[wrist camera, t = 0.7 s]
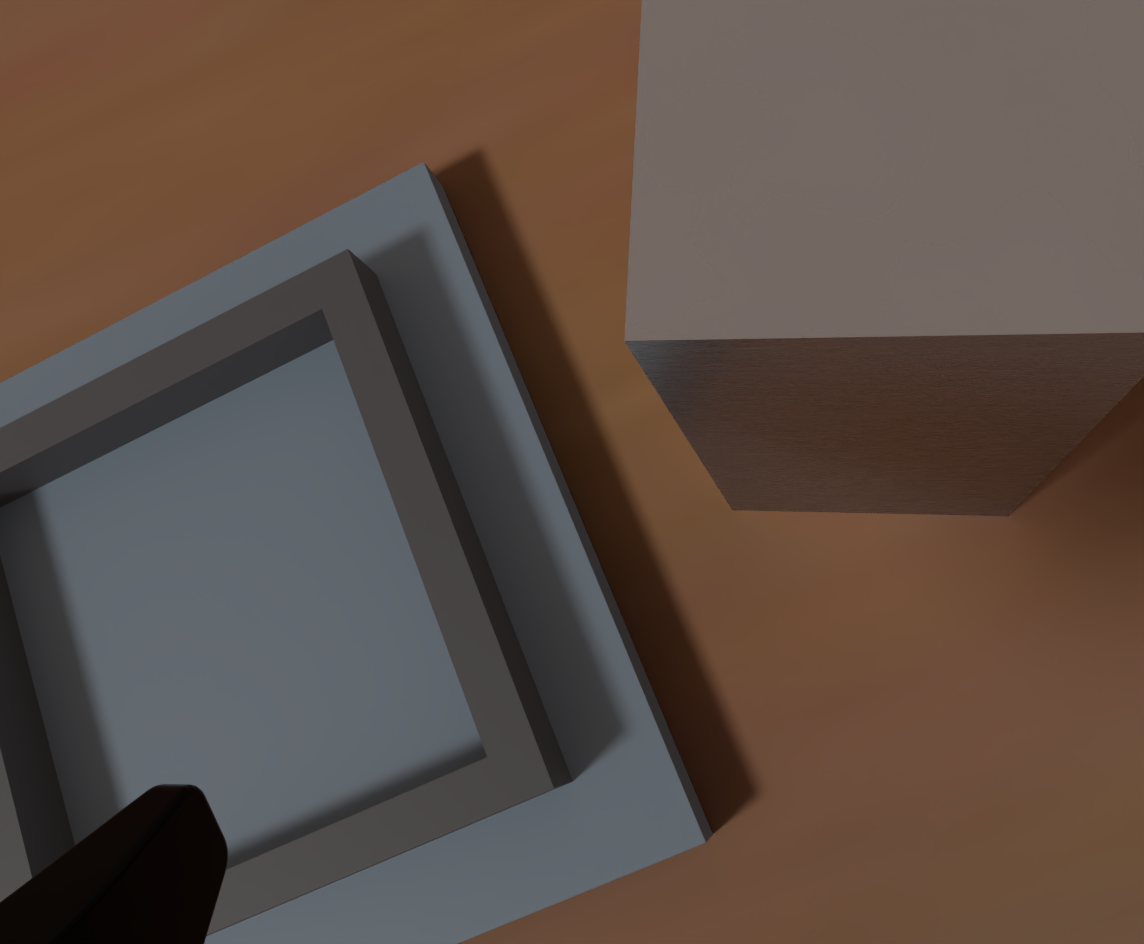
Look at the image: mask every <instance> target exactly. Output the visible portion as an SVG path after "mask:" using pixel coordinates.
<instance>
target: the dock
mask: <svg viewBox="0 0 1144 944" xmlns="http://www.w3.org/2000/svg"><path fill="white" fill-rule="evenodd" d="M161 784H191V785H195V786H197V787H198V788H199V789H201V790H202V791H203V793H204V794H205V796H206V799H207V801H208V803H209V805H210V807H211V809H212V811H213V814H214V816H215V818H216V820H217V822H218V824H219V827H220V829H221V831H222V833H223V835H224V837H225V840H226V843H227V848H228V862H227V868H226V872H225V876H224V879H223V882H222V886H221V889H220V892H219V896H218V899H217V902H216V906H215V909H214V913H213V916H212V919H211V923H210V926H209V929H208V933H207V936H206V939H205V943H204V944H457V943H460V942H462V941H465V940H467V939H470V938H472V937H475V936H477V935H480V934H482V933H485V932H487V931H489V930H492V929H494V928H497V927H499V926H502V925H504V924H507V923H509V922H512V921H514V920H517V919H519V918H521V917H524V916H526V915H529V914H531V913H534V912H536V911H539V910H541V909H544V908H546V907H549V906H551V905H553V904H556V903H558V902H561V901H563V900H566V899H568V898H571V897H573V896H576V895H578V894H581V893H583V892H585V891H588V890H590V889H593V888H595V887H598V886H600V885H603V884H605V883H608V882H610V881H613V880H615V879H617V878H620V877H622V876H625V875H627V874H630V873H632V872H635V871H637V870H640V869H642V868H645V867H647V866H649V865H652V864H654V863H657V862H659V861H662V860H664V859H667V858H669V857H672V856H674V855H677V854H679V853H681V852H684V851H686V850H689V849H691V848H694V847H696V846H699V845H701V844H704V843H706V842H707V841H708V840H709V838H710V837H711V836H712V835H713V833H712V831H711V829H710V826H709V824H708V821H707V819H706V817H705V814H704V812H703V809H702V807H701V805H700V802H699V800H698V797H697V795H696V793H695V790H694V788H693V785H692V783H691V781H690V778H689V776H688V773H687V771H686V769H685V766H684V764H683V762H682V759H681V757H680V754H679V752H678V750H677V747H676V745H675V742H674V740H673V738H672V735H671V733H670V730H669V728H668V726H667V723H666V721H665V718H664V716H663V714H662V711H661V709H660V706H659V704H658V702H657V699H656V697H655V694H654V692H653V690H652V687H651V685H650V682H649V680H648V678H647V675H646V673H645V670H644V668H643V666H642V663H641V661H640V658H639V656H638V654H637V651H636V649H635V646H634V644H633V642H632V639H631V637H630V634H629V632H628V630H627V627H626V625H625V622H624V620H623V618H622V615H621V613H620V610H619V608H618V606H617V603H616V601H615V599H614V596H613V594H612V591H611V589H610V587H609V584H608V582H607V579H606V577H605V575H604V572H603V570H602V567H601V565H600V563H599V560H598V558H597V555H596V553H595V551H594V548H593V546H592V543H591V541H590V539H589V536H588V534H587V531H586V529H585V527H584V524H583V522H582V519H581V517H580V515H579V512H578V510H577V507H576V505H575V503H574V500H573V498H572V495H571V493H570V491H569V488H568V486H567V483H566V481H565V479H564V476H563V474H562V471H561V469H560V467H559V464H558V462H557V459H556V457H555V455H554V452H553V450H552V447H551V445H550V443H549V440H548V438H547V435H546V433H545V431H544V428H543V426H542V424H541V421H540V419H539V416H538V414H537V412H536V409H535V407H534V404H533V402H532V400H531V397H530V395H529V392H528V390H527V388H526V385H525V383H524V380H523V378H522V376H521V373H520V371H519V368H518V366H517V364H516V361H515V359H514V356H513V354H512V352H511V349H510V347H509V344H508V342H507V340H506V337H505V335H504V332H503V330H502V328H501V325H500V323H499V320H498V318H497V316H496V313H495V311H494V308H493V306H492V304H491V301H490V299H489V296H488V294H487V292H486V289H485V287H484V284H483V282H482V280H481V277H480V275H479V272H478V270H477V268H476V265H475V263H474V260H473V258H472V256H471V253H470V251H469V249H468V246H467V244H466V241H465V239H464V237H463V234H462V232H461V229H460V227H459V225H458V222H457V220H456V217H455V215H454V213H453V210H452V208H451V205H450V203H449V201H448V198H447V196H446V193H445V191H444V189H443V186H442V184H441V183H440V182H439V181H438V179H437V178H436V177H435V176H434V174H433V173H432V172H431V171H430V169H429V168H428V167H427V166H426V164H425V163H424V162H423V163H421V164H419V165H417V166H415V167H413V168H411V169H409V170H407V171H406V172H404V173H402V174H400V175H398V176H396V177H394V178H392V179H390V180H388V181H386V182H384V183H383V184H381V185H379V186H377V187H375V188H373V189H371V190H369V191H367V192H365V193H363V194H361V195H360V196H358V197H356V198H354V199H352V200H350V201H348V202H346V203H344V204H342V205H340V206H339V207H337V208H335V209H333V210H331V211H329V212H327V213H325V214H323V215H321V216H319V217H317V218H316V219H314V220H312V221H310V222H308V223H306V224H304V225H302V226H300V227H298V228H296V229H294V230H293V231H291V232H289V233H287V234H285V235H283V236H281V237H279V238H277V239H275V240H273V241H272V242H270V243H268V244H266V245H264V246H262V247H260V248H258V249H256V250H254V251H252V252H250V253H249V254H247V255H245V256H243V257H241V258H239V259H237V260H235V261H233V262H231V263H229V264H227V265H226V266H224V267H222V268H220V269H218V270H216V271H214V272H212V273H210V274H208V275H206V276H205V277H203V278H201V279H199V280H197V281H195V282H193V283H191V284H189V285H187V286H185V287H183V288H182V289H180V290H178V291H176V292H174V293H172V294H170V295H168V296H166V297H164V298H162V299H160V300H159V301H157V302H155V303H153V304H151V305H149V306H147V307H145V308H143V309H141V310H139V311H137V312H136V313H134V314H132V315H130V316H128V317H126V318H124V319H122V320H120V321H118V322H116V323H115V324H113V325H111V326H109V327H107V328H105V329H103V330H101V331H99V332H97V333H95V334H93V335H92V336H90V337H88V338H86V339H84V340H82V341H80V342H78V343H76V344H74V345H72V346H70V347H69V348H67V349H65V350H63V351H61V352H59V353H57V354H55V355H53V356H51V357H49V358H48V359H46V360H44V361H42V362H40V363H38V364H36V365H34V366H32V367H30V368H28V369H26V370H25V371H23V372H21V373H19V374H17V375H15V376H13V377H11V378H9V379H7V380H5V381H3V382H2V383H0V902H1V901H2V900H4V899H5V898H6V897H8V896H9V895H10V894H12V893H13V892H14V891H16V890H17V889H18V888H20V887H21V886H22V885H24V884H25V883H26V882H27V881H29V880H30V879H31V878H33V877H34V876H35V875H37V874H38V873H39V872H41V871H42V870H43V869H45V868H46V867H47V866H49V865H50V864H51V863H52V862H54V861H55V860H56V859H58V858H59V857H60V856H62V855H63V854H64V853H66V852H67V851H68V850H70V849H71V848H72V847H73V846H75V845H76V844H77V843H79V842H80V841H81V840H83V839H84V838H85V837H87V836H88V835H89V834H91V833H92V832H93V831H95V830H96V829H97V828H98V827H100V826H101V825H102V824H104V823H105V822H106V821H108V820H109V819H110V818H112V817H113V816H114V815H116V814H117V813H118V812H119V811H121V810H122V809H123V808H125V807H126V806H127V805H129V804H130V803H131V802H133V801H134V800H135V799H137V798H138V797H139V796H141V795H142V794H143V793H144V792H146V791H147V790H149V789H150V788H152V787H154V786H156V785H161Z"/></svg>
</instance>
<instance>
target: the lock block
mask: <svg viewBox="0 0 1144 944" xmlns="http://www.w3.org/2000/svg"><path fill="white" fill-rule="evenodd" d="M625 342H626V344H627V345H628V347H629V349H630V350H631V352H632V353H633V355H634V356H635V358H636V360H637V361H638V363H639V364H640V366H641V367H642V369H643V371H644V372H645V374H646V375H647V377H648V378H649V380H650V382H651V383H652V385H653V386H654V388H655V389H656V391H657V393H658V394H659V396H660V397H661V399H662V400H663V402H664V404H665V405H666V407H667V408H668V410H669V411H670V413H671V415H672V416H673V418H674V419H675V421H676V422H677V424H678V426H679V427H680V429H681V430H682V432H683V433H684V435H685V437H686V438H687V440H688V441H689V443H690V444H691V446H692V448H693V449H694V451H695V452H696V454H697V455H698V457H699V459H700V460H701V462H702V463H703V465H704V466H705V468H706V470H707V471H708V473H709V474H710V476H711V477H712V479H713V481H714V482H715V484H716V485H717V487H718V488H719V490H720V492H721V493H722V495H723V496H724V498H725V499H726V501H727V503H728V504H729V506H730V507H731V509H732V510H753V511H799V512H846V513H892V514H939V515H985V516H1009V515H1010V514H1011V513H1012V512H1013V511H1014V510H1015V509H1016V508H1017V507H1018V506H1019V505H1020V504H1021V503H1022V502H1023V501H1024V499H1025V498H1026V497H1027V496H1028V495H1029V494H1030V493H1031V492H1032V491H1033V490H1034V489H1035V488H1036V487H1037V486H1038V485H1039V484H1040V483H1041V482H1042V481H1043V480H1044V479H1045V478H1046V477H1047V476H1048V475H1049V474H1050V473H1051V472H1052V471H1053V470H1054V469H1055V467H1056V466H1057V465H1058V464H1059V463H1060V462H1061V461H1062V460H1063V459H1064V458H1065V457H1066V456H1067V455H1068V454H1069V453H1070V452H1071V451H1072V450H1073V449H1074V448H1075V447H1076V446H1077V445H1078V444H1079V443H1080V442H1081V441H1082V440H1083V439H1084V438H1085V437H1086V435H1087V434H1088V433H1089V432H1090V431H1091V430H1092V429H1093V428H1094V427H1095V426H1096V425H1097V424H1098V423H1099V422H1100V421H1101V420H1102V419H1103V418H1104V417H1105V416H1106V415H1107V414H1108V413H1109V412H1110V411H1111V410H1112V409H1113V408H1114V407H1115V406H1116V405H1117V403H1118V402H1119V401H1120V400H1121V399H1122V398H1123V397H1124V396H1125V395H1126V394H1127V393H1128V392H1129V391H1130V390H1131V389H1132V388H1133V387H1134V386H1135V385H1136V384H1137V383H1138V382H1139V381H1140V380H1141V379H1142V378H1143V377H1144V0H642V10H641V29H640V49H639V68H638V88H637V107H636V127H635V146H634V166H633V185H632V205H631V225H630V244H629V264H628V283H627V303H626V322H625Z"/></svg>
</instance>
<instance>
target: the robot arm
mask: <svg viewBox="0 0 1144 944" xmlns="http://www.w3.org/2000/svg"><path fill="white" fill-rule="evenodd" d="M227 862H228V848H227V843H226V840H225V837H224V835H223V833H222V831H221V829H220V827H219V824H218V822H217V820H216V818H215V816H214V814H213V811H212V809H211V807H210V805H209V803H208V801H207V799H206V796H205V794H204V793H203V791H202V790H201V789H199V788H198V787H197V786H195V785H191V784H161V785H156V786H154V787H152V788H150V789H149V790H147V791H146V792H144V793H143V794H142V795H141V796H139V797H138V798H137V799H135V800H134V801H133V802H131V803H130V804H129V805H127V806H126V807H125V808H123V809H122V810H121V811H119V812H118V813H117V814H116V815H114V816H113V817H112V818H110V819H109V820H108V821H106V822H105V823H104V824H102V825H101V826H100V827H98V828H97V829H96V830H95V831H93V832H92V833H91V834H89V835H88V836H87V837H85V838H84V839H83V840H81V841H80V842H79V843H77V844H76V845H75V846H73V847H72V848H71V849H70V850H68V851H67V852H66V853H64V854H63V855H62V856H60V857H59V858H58V859H56V860H55V861H54V862H52V863H51V864H50V865H49V866H47V867H46V868H45V869H43V870H42V871H41V872H39V873H38V874H37V875H35V876H34V877H33V878H31V879H30V880H29V881H27V882H26V883H25V884H24V885H22V886H21V887H20V888H18V889H17V890H16V891H14V892H13V893H12V894H10V895H9V896H8V897H6V898H5V899H4V900H2V901H1V902H0V944H204V943H205V939H206V936H207V933H208V929H209V926H210V923H211V919H212V916H213V913H214V909H215V906H216V902H217V899H218V896H219V892H220V889H221V886H222V882H223V879H224V876H225V872H226V868H227Z"/></svg>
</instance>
